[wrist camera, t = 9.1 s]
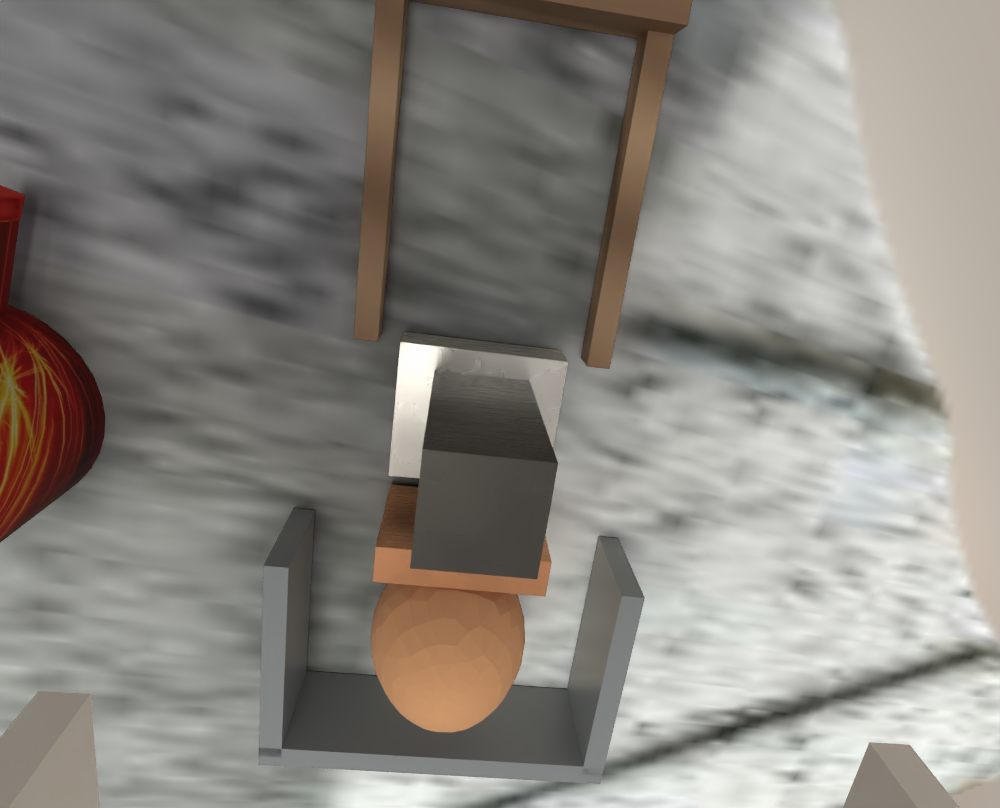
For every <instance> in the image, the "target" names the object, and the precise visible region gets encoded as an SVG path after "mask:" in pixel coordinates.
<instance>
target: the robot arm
mask: <svg viewBox="0 0 1000 808" xmlns="http://www.w3.org/2000/svg"><path fill="white" fill-rule="evenodd" d="M0 808H100V807H99V795H98V782H97V770H96V758H95V746H94V733H93V721H92V709H91V696H90V694H78V693H62V692H46V691H38V693H37V694H36V695H35V696H34V697H33V699H32V700H31V701H30V702H29V703H28V705H27V706H26V707H25V708H24V710H23V711H22V712H21V713H20V714H19V716H18V717H17V718H16V719H15V720H14V722H13V723H12V724H11V725H10V726H9V728H8V729H7V730H6V731H5V733H4V734H3V735H2V736H1V737H0ZM843 808H959V806H958V805H957V804H956V803H955V801H954V800H953V799H952V797H951V796H950V795H949V794H948V792H947V791H946V790H945V789H944V787H943V786H942V785H941V784H940V782H939V781H938V780H937V779H936V777H935V776H934V775H933V774H932V772H931V771H930V770H929V769H928V767H927V766H926V765H925V764H924V762H923V761H922V760H921V759H920V757H919V756H918V755H917V753H916V752H915V751H914V750H913V748H912V747H911V746H910V745H903V744H887V743H871V742H870V743H869V745H868V747H867V750H866V752H865V755H864V757H863V760H862V762H861V765H860V767H859V770H858V772H857V775H856V777H855V779H854V782H853V784H852V787H851V789H850V792H849V794H848V797H847V799H846V802H845V804H844V807H843Z"/></svg>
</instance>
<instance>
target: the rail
mask: <svg viewBox="0 0 1000 808" xmlns="http://www.w3.org/2000/svg"><path fill="white" fill-rule="evenodd" d="M410 1H416V2H422V3H428V4H434V5H440V6H446V7H452V8H458V9H463V10H469V11H475V12H481V13H487V14H493V15H499V16H505V17H511V18H517V19H523V20H529V21H535V22H541V23H547V24H553V25H559V26H565V27H570V28H576V29H582V30H588V31H594V32H600V33H606V34H612V35H618V36H624V37H630V38H636V39H638V42H637V48H636V53H635V59H634V65H633V70H632V76H631V81H630V87H629V93H628V98H627V104H626V109H625V115H624V120H623V126H622V132H621V137H620V143H619V148H618V154H617V159H616V165H615V171H614V176H613V182H612V187H611V193H610V199H609V204H608V210H607V215H606V221H605V226H604V232H603V238H602V243H601V249H600V254H599V260H598V266H597V271H596V277H595V282H594V288H593V293H592V299H591V305H590V310H589V316H588V321H587V327H586V332H585V338H584V344H583V349H582V355H581V358H582V360H583V361H584V363H585V364H586V366H589V367H597V368H606V369H610V364H611V358H612V353H613V348H614V343H615V338H616V333H617V328H618V322H619V317H620V312H621V307H622V302H623V297H624V292H625V286H626V281H627V276H628V271H629V266H630V261H631V256H632V250H633V245H634V240H635V235H636V230H637V225H638V220H639V214H640V209H641V204H642V199H643V194H644V189H645V184H646V178H647V173H648V168H649V163H650V158H651V153H652V147H653V142H654V137H655V132H656V127H657V122H658V117H659V111H660V106H661V101H662V96H663V91H664V86H665V81H666V75H667V70H668V65H669V60H670V55H671V50H672V45H673V39H674V35H675V34H676V33H677V32H679V31H680V30H682V29H683V28H684V27H686V26H687V25H688V21H689V16H690V11H691V6H692V1H693V0H410ZM407 13H408V0H376V8H375V23H374V38H373V53H372V68H371V83H370V99H369V114H368V129H367V144H366V159H365V174H364V189H363V204H362V219H361V234H360V249H359V265H358V280H357V295H356V310H355V325H354V339H361V340H369V341H377V342H378V340H379V338H380V336H381V334H382V326H383V313H384V301H385V288H386V276H387V263H388V251H389V238H390V226H391V213H392V201H393V188H394V176H395V163H396V151H397V138H398V126H399V113H400V101H401V88H402V75H403V63H404V50H405V38H406V25H407Z"/></svg>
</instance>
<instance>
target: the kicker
mask: <svg viewBox="0 0 1000 808" xmlns="http://www.w3.org/2000/svg"><path fill="white" fill-rule="evenodd" d="M567 367H568V361H567V359H566V357H565V356H564V354H563V352H562V351H561V350H553V349H545V348H536V347H528V346H520V345H512V344H503V343H495V342H487V341H478V340H470V339H462V338H453V337H445V336H437V335H428V334H420V333H412V332H404V334H403V337H402V339H401V342H400V352H399V364H398V375H397V386H396V397H395V408H394V420H393V431H392V442H391V453H390V464H389V476H400V477H410V478H419V487H412V486H402V485H390V489H389V493H388V498H387V502H386V506H385V510H384V514H383V518H382V523H381V527H380V531H379V535H378V539H377V543H376V549H375V560H374V572H373V582H381V583H393V584H405V585H416V586H428V587H440V588H452V589H464V590H476V591H488V592H500V593H512V594H524V595H536V596H545V595H546V589H547V584H548V578H549V573H550V567H551V558H550V554H549V550H548V546H547V541H546V537H545V533H546V528H547V522H548V516H549V511H550V505H551V499H552V494H553V488H554V482H555V477H556V471H557V465H558V462H557V459H556V456H555V453H554V451H553V448H554V442H555V436H556V430H557V424H558V419H559V413H560V407H561V401H562V396H563V390H564V384H565V378H566V372H567Z"/></svg>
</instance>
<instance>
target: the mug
mask: <svg viewBox="0 0 1000 808" xmlns="http://www.w3.org/2000/svg"><path fill="white" fill-rule="evenodd" d="M24 196H25V195H23V194H21V193H18V192H16V191H13V190H11V189H8V188H6V187H3V186H1V185H0V542H1V541H3V540H4V539H5V538H7V537H8V536H9V535H10V534H12V533H13V532H14V531H16V530H17V529H18V528H20V527H21V526H22V525H23V524H25V523H26V522H27V521H29V520H30V519H31V518H33V517H34V516H35V515H36V514H38V513H39V512H40V511H42V510H43V509H44V508H46V507H47V506H48V505H49V504H51V503H52V502H53V501H55V500H56V499H57V498H59V497H60V496H61V495H62V494H64V493H65V492H66V491H68V490H69V489H70V488H72V487H73V486H74V485H75V484H77V483H78V482H79V481H80V480H81V479H82V478H83V477H84V476H85V475H86V474H87V472H88V471H89V470H90V469H91V468H92V466H93V464H94V462H95V460H96V459H97V457H98V455H99V453H100V450H101V446H102V442H103V439H104V432H105V413H104V408H103V403H102V397H101V394H100V392H99V389H98V387H97V384H96V382H95V379H94V377H93V375H92V373H91V372H90V370H89V369H88V367H87V365H86V364H85V362H84V361H83V359H82V358H81V356H80V355H79V354H78V353H77V352H76V351H75V350H74V348H73V347H72V346H71V345H70V344H69V343H68V342H67V341H66V340H65V339H64V338H63V337H62V336H60V335H59V334H58V333H57V332H55V331H54V330H53V329H52V328H50V327H49V326H48V325H47V324H45V323H43V322H42V321H40V320H38V319H36V318H35V317H33V316H31V315H29V314H28V313H26V312H24V311H21V310H19V309H16V308H13V307H11V306H8V298H9V291H10V284H11V277H12V270H13V262H14V255H15V248H16V241H17V234H18V227H19V221H20V218H21V213H22V208H23V203H24Z"/></svg>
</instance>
